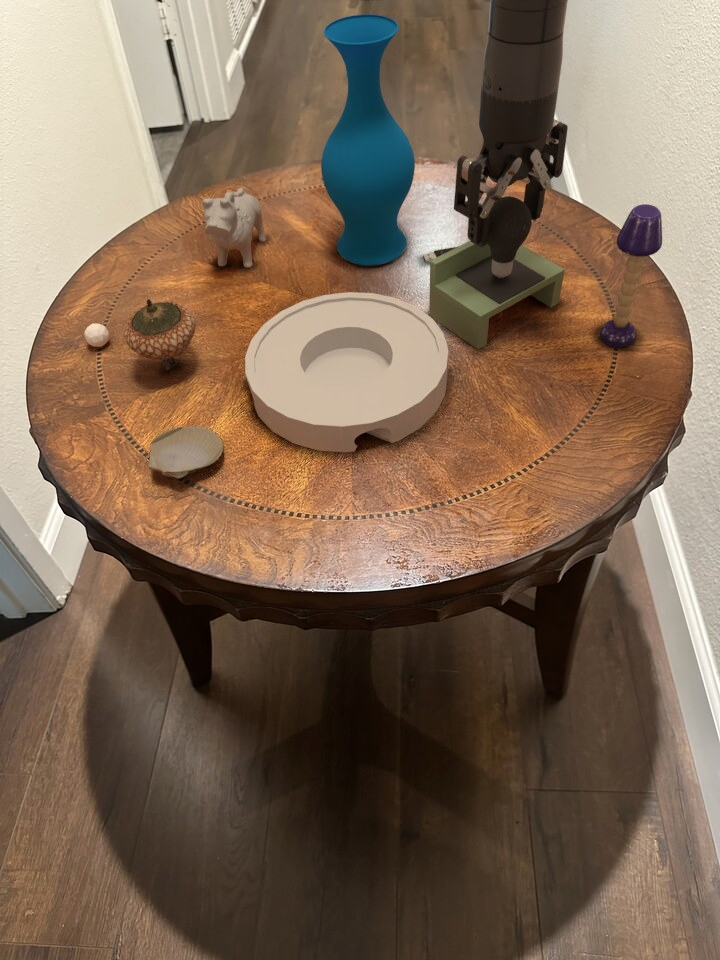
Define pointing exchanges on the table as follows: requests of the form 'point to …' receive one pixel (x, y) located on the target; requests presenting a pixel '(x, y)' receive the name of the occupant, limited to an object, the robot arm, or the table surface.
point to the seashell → (184, 450)
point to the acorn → (160, 331)
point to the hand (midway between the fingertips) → (505, 229)
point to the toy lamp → (633, 269)
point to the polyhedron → (96, 335)
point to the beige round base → (347, 370)
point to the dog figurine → (233, 224)
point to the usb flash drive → (436, 254)
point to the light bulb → (507, 232)
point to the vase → (367, 148)
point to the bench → (486, 288)
